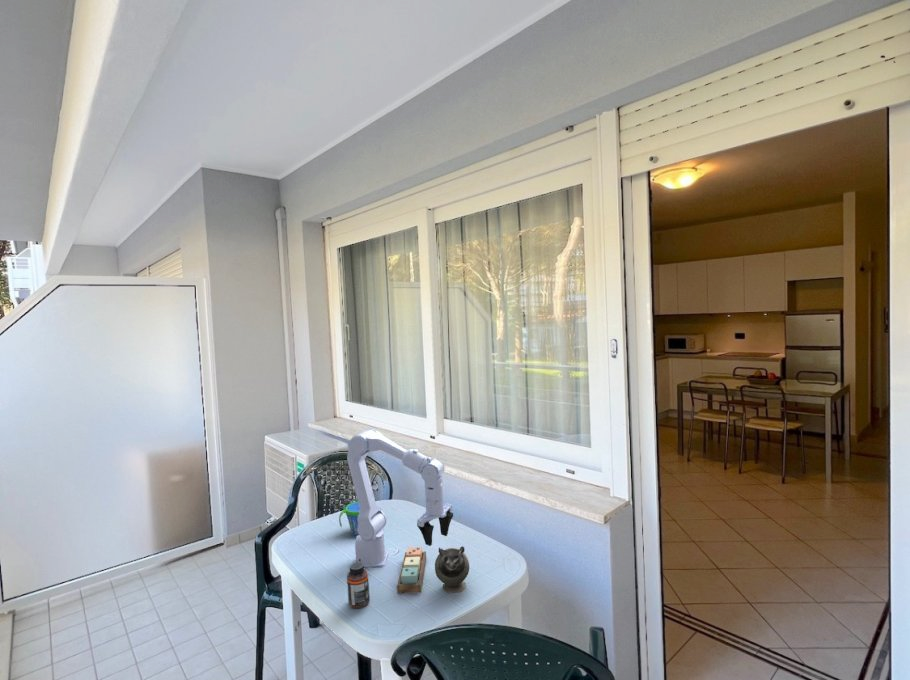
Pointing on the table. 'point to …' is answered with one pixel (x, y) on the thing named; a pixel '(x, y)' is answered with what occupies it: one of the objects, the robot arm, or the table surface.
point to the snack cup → (352, 516)
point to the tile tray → (412, 587)
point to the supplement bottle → (358, 585)
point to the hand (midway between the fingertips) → (436, 539)
